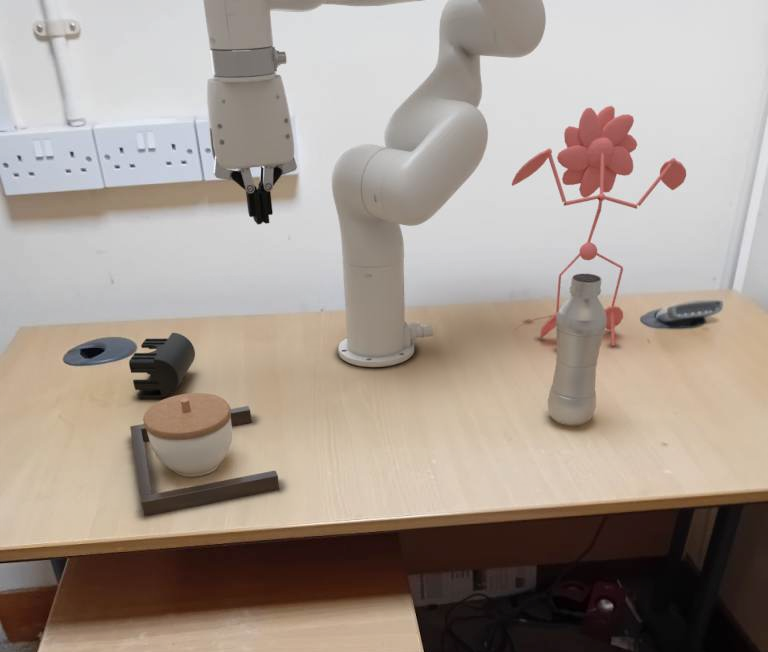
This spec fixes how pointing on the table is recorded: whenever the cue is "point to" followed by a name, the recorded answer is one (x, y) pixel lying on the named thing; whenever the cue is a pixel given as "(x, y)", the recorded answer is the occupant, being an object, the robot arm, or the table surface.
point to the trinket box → (190, 432)
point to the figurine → (598, 179)
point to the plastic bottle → (577, 352)
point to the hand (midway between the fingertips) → (261, 221)
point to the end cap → (162, 365)
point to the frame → (201, 492)
